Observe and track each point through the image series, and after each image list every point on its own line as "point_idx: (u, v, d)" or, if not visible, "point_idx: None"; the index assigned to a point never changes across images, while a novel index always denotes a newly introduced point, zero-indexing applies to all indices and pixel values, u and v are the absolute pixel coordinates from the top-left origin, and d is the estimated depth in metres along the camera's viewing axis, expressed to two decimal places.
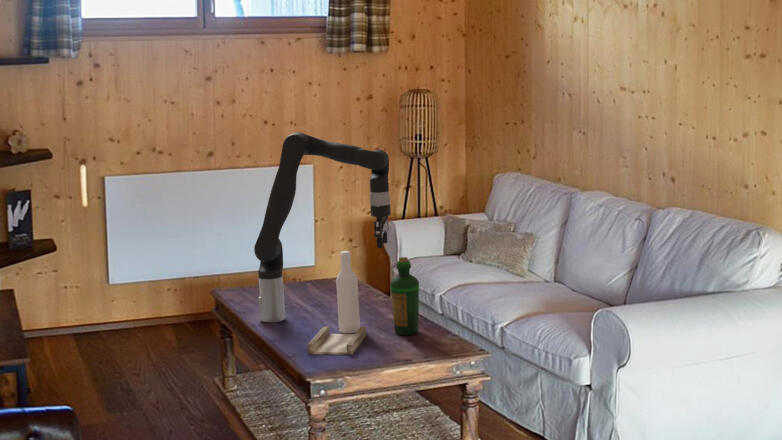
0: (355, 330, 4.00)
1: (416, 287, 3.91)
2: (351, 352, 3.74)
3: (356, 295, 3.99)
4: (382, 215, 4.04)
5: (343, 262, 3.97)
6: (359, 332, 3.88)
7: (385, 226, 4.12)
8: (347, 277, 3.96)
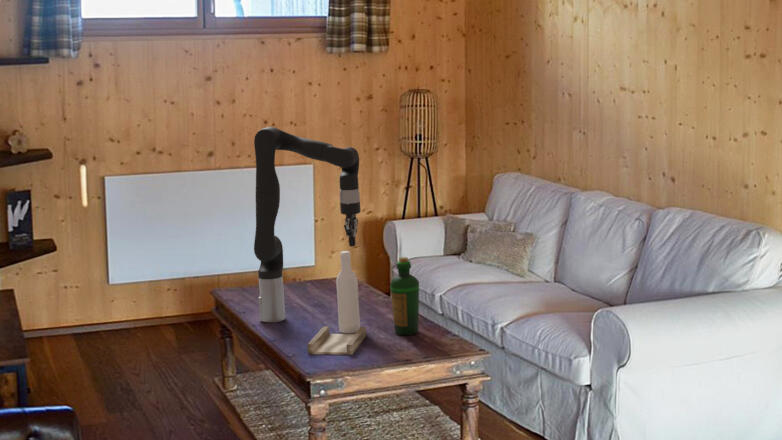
0: (355, 330, 4.00)
1: (416, 287, 3.91)
2: (351, 352, 3.74)
3: (356, 295, 3.99)
4: (352, 213, 4.04)
5: (343, 262, 3.97)
6: (359, 332, 3.88)
7: None
8: (347, 277, 3.96)
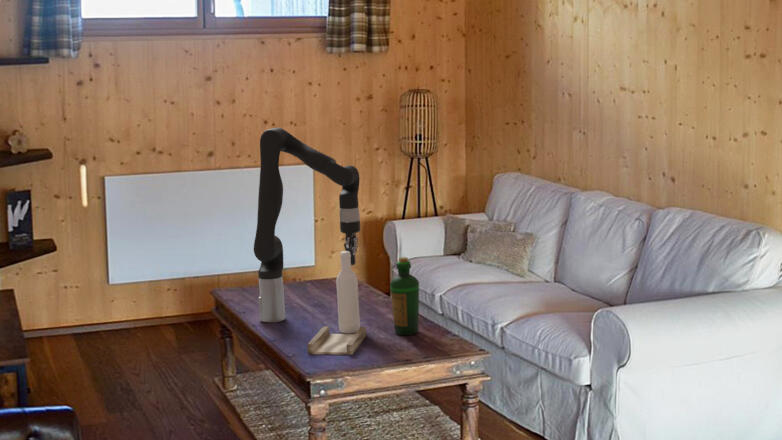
0: (355, 330, 4.00)
1: (416, 287, 3.91)
2: (351, 352, 3.74)
3: (356, 295, 3.99)
4: (351, 231, 4.03)
5: (343, 262, 3.97)
6: (359, 332, 3.88)
7: None
8: (347, 277, 3.96)
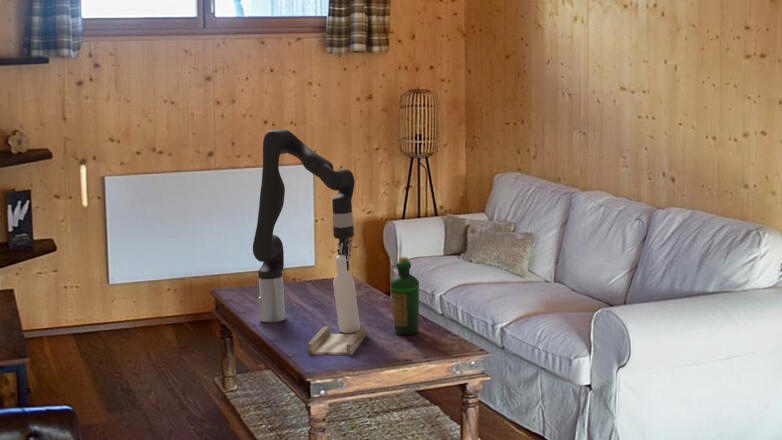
0: (355, 329, 4.00)
1: (416, 287, 3.91)
2: (351, 352, 3.74)
3: (354, 297, 3.96)
4: (345, 237, 3.92)
5: (339, 267, 3.90)
6: (359, 332, 3.88)
7: None
8: (343, 282, 3.91)
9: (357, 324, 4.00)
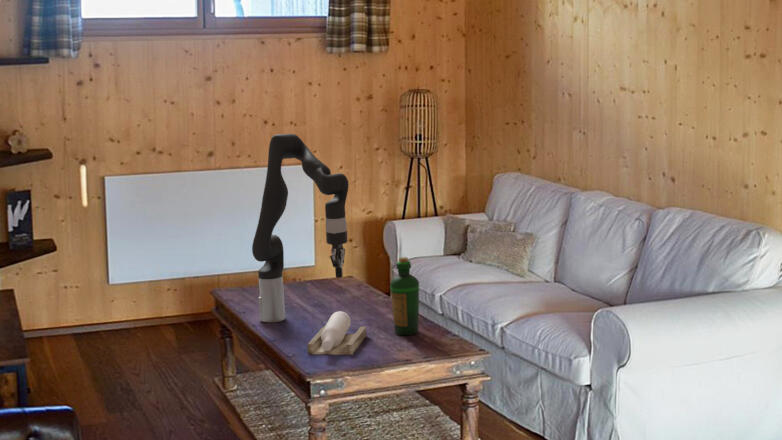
0: None
1: (416, 287, 3.91)
2: (351, 352, 3.74)
3: (342, 326, 3.85)
4: (338, 243, 3.83)
5: None
6: (359, 332, 3.88)
7: None
8: (339, 341, 3.78)
9: (348, 318, 3.96)
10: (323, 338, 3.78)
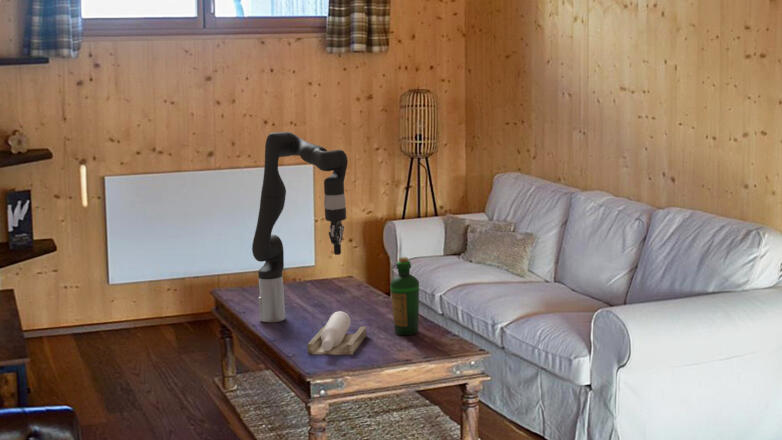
0: (349, 320, 3.98)
1: (416, 287, 3.91)
2: (351, 352, 3.74)
3: (342, 326, 3.85)
4: (337, 219, 3.81)
5: None
6: (359, 332, 3.88)
7: None
8: (339, 341, 3.78)
9: (348, 318, 3.96)
10: (323, 338, 3.78)
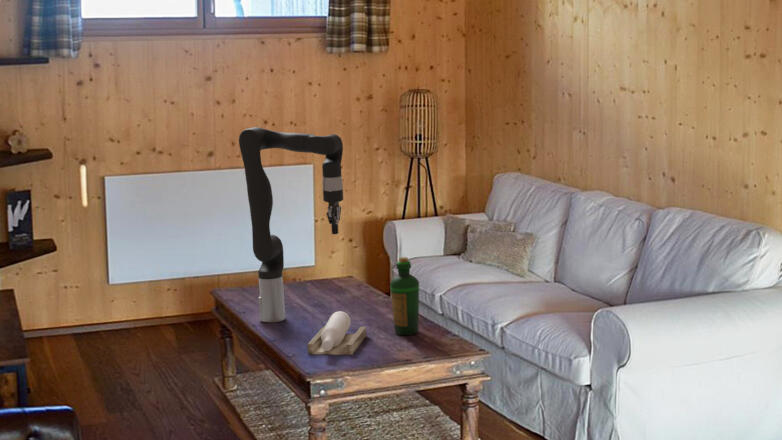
0: None
1: (416, 287, 3.91)
2: (351, 352, 3.74)
3: (342, 326, 3.85)
4: (334, 200, 4.02)
5: None
6: (359, 332, 3.88)
7: None
8: (339, 341, 3.78)
9: (348, 318, 3.96)
10: (323, 338, 3.78)
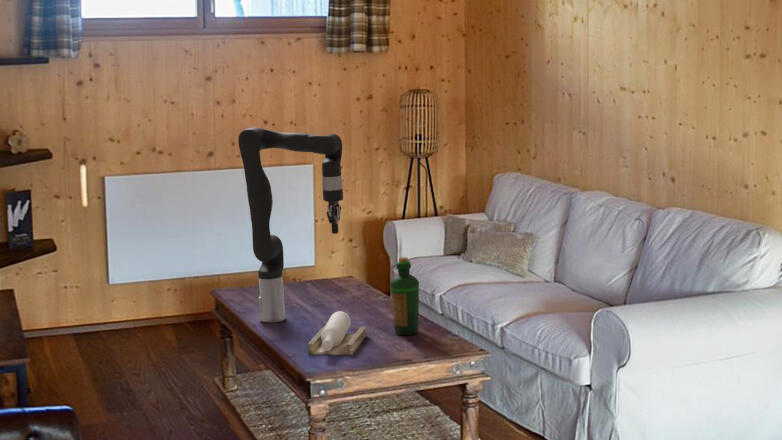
0: None
1: (416, 287, 3.91)
2: (351, 352, 3.74)
3: (342, 326, 3.85)
4: (334, 200, 4.02)
5: None
6: (359, 332, 3.88)
7: None
8: (339, 341, 3.78)
9: (348, 318, 3.96)
10: (323, 338, 3.78)
